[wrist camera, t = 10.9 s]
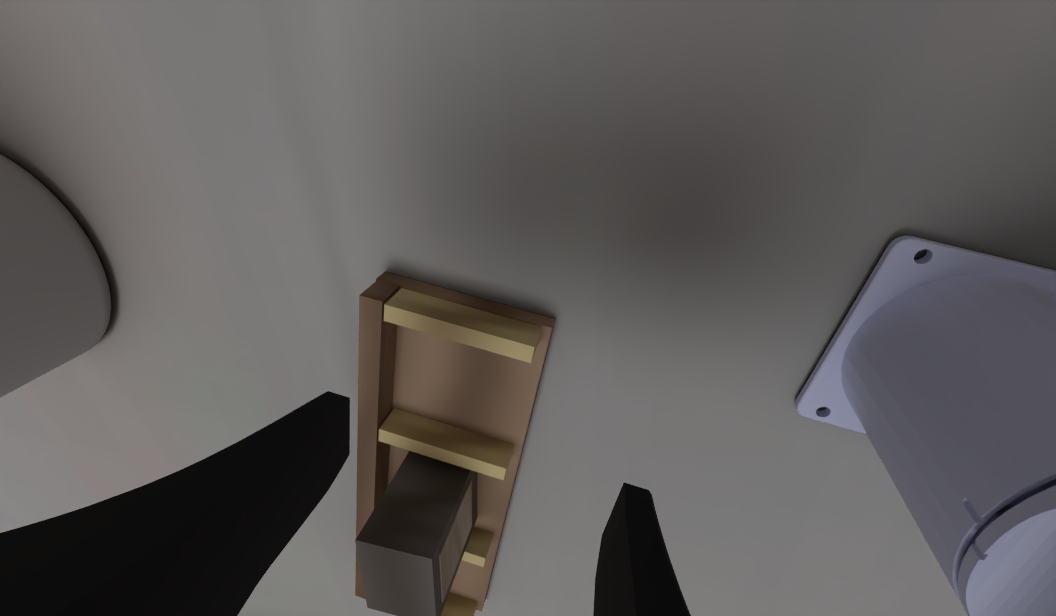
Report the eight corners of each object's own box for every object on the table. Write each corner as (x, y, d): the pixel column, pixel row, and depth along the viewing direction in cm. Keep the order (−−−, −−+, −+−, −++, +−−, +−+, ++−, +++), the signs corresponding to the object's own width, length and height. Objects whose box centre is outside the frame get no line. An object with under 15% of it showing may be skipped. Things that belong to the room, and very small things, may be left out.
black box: (478, 454, 25) (432, 559, 20) (478, 517, 27) (437, 626, 22) (414, 440, 26) (354, 539, 21) (419, 504, 28) (366, 607, 23)
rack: (555, 319, 21) (544, 347, 19) (485, 599, 32) (473, 637, 30) (384, 271, 22) (357, 294, 20) (372, 560, 33) (354, 594, 31)
